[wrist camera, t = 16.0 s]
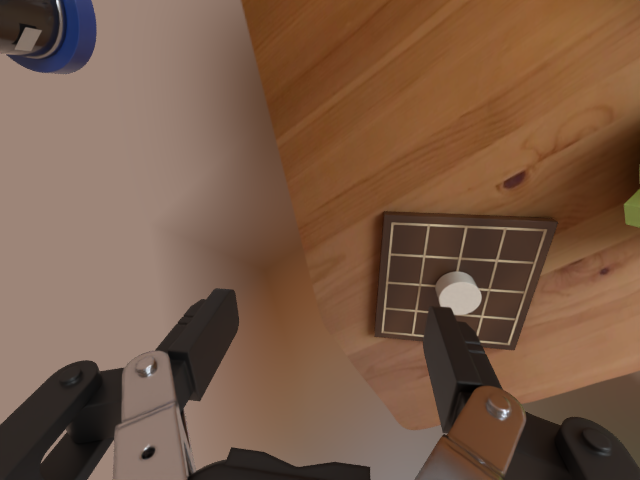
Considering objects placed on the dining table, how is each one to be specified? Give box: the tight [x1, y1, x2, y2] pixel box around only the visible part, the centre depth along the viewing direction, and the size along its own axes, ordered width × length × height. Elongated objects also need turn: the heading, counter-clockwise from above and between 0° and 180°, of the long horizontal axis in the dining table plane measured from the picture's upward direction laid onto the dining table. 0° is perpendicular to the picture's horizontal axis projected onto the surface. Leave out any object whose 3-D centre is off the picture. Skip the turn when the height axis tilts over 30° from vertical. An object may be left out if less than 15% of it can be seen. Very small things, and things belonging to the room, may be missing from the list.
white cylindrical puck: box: [435, 272, 482, 315], centre depth 36 cm, size 5×5×2 cm
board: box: [375, 211, 558, 350], centre depth 38 cm, size 18×18×1 cm
